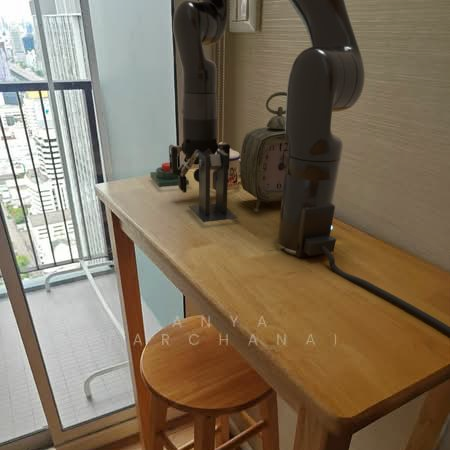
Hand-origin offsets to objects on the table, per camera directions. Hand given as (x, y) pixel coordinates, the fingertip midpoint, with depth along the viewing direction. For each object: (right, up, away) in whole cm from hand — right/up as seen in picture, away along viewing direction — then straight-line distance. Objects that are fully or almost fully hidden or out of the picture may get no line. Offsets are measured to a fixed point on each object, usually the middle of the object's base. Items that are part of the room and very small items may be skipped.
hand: (199, 190), depth 97 cm
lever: (+2, +1, -7) cm, 7 cm away
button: (-9, +8, +12) cm, 17 cm away
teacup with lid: (+6, +4, +13) cm, 15 cm away
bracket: (+3, -7, -5) cm, 9 cm away
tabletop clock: (+17, -4, +1) cm, 17 cm away
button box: (-9, +5, +14) cm, 18 cm away
